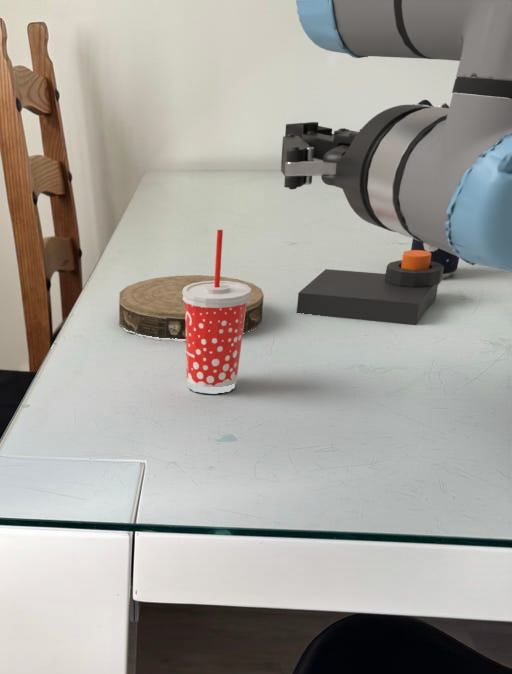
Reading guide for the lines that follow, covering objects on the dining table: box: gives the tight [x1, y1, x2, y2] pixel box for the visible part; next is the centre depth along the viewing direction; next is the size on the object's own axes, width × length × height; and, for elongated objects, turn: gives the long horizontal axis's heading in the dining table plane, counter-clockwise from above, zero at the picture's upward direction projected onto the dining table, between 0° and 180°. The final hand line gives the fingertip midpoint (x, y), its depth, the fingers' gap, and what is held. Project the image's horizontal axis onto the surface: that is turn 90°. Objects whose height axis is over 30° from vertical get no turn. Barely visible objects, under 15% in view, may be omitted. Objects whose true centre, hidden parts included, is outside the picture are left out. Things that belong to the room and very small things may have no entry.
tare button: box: [401, 249, 431, 270], centre depth 112 cm, size 3×3×2 cm
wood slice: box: [118, 274, 265, 339], centre depth 112 cm, size 16×16×3 cm
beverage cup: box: [182, 229, 251, 387], centre depth 91 cm, size 6×6×14 cm
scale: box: [296, 259, 444, 326], centre depth 113 cm, size 13×12×4 cm
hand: (293, 141), depth 85 cm, fingers closed
